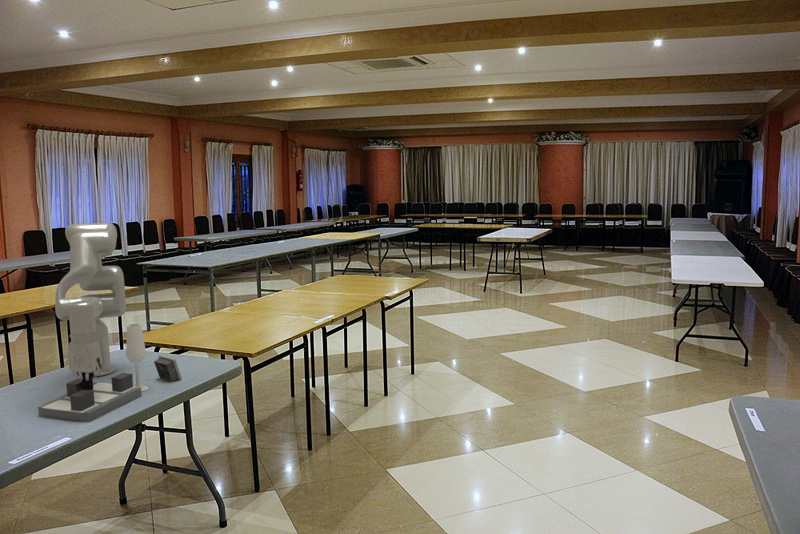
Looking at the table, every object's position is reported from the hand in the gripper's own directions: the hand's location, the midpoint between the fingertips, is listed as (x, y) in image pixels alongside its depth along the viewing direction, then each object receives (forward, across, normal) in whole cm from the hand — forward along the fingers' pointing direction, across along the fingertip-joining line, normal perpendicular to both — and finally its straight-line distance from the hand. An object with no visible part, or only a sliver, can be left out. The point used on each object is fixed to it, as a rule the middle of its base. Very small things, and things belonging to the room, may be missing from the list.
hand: (88, 390), depth 202 cm
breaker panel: (+5, +1, 0) cm, 5 cm away
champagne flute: (+5, +6, +18) cm, 20 cm away
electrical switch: (+5, +10, +30) cm, 32 cm away
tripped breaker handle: (+2, -4, 0) cm, 5 cm away
